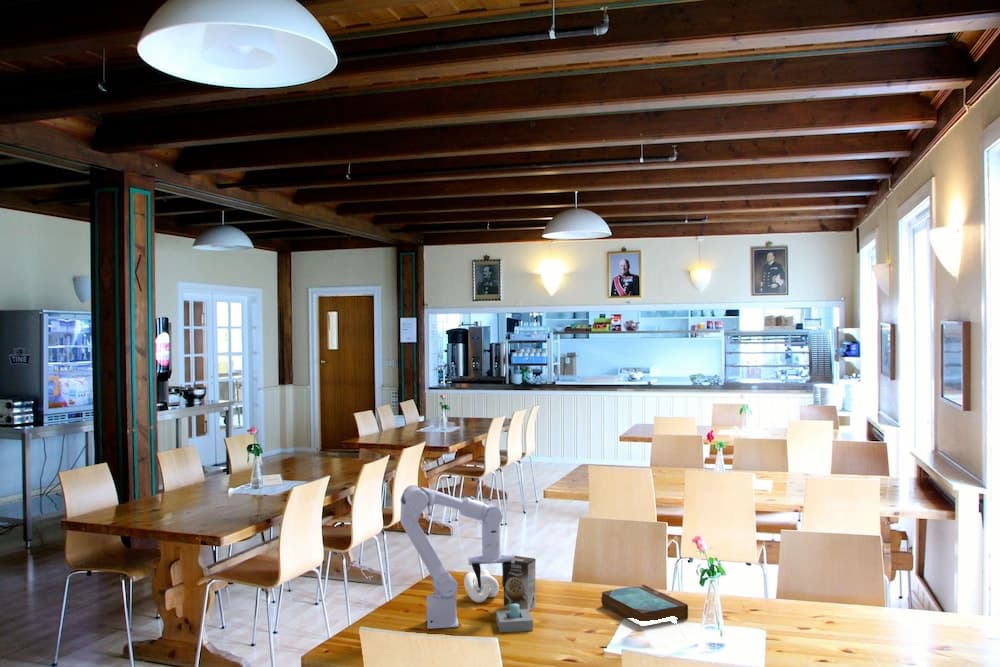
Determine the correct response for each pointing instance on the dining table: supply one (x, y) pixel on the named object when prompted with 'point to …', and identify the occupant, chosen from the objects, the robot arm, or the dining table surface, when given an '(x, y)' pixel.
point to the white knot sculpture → (487, 586)
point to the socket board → (514, 621)
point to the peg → (514, 611)
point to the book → (643, 603)
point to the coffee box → (521, 584)
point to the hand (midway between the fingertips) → (491, 586)
